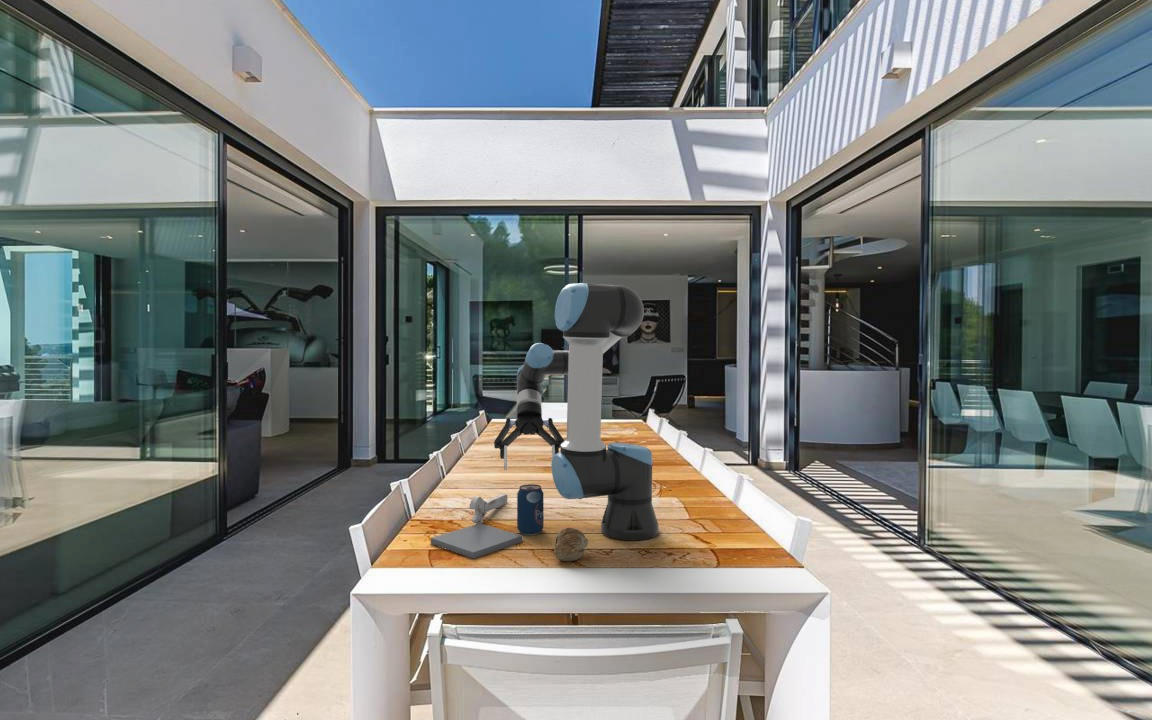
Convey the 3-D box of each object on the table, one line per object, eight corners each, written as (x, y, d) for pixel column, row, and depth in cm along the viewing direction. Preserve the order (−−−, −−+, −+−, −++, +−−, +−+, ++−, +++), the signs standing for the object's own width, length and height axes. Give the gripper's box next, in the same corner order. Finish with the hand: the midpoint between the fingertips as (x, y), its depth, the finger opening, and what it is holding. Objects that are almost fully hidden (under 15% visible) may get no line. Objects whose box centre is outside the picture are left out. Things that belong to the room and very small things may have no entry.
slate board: (522, 541, 154) (522, 535, 154) (473, 558, 142) (473, 552, 142) (479, 528, 165) (479, 523, 165) (430, 543, 152) (430, 537, 152)
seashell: (590, 555, 146) (557, 550, 148) (593, 526, 146) (560, 521, 148) (582, 568, 137) (548, 562, 139) (585, 536, 137) (551, 531, 139)
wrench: (507, 511, 192) (474, 529, 163) (501, 511, 192) (468, 528, 163) (508, 485, 193) (475, 498, 164) (502, 485, 193) (469, 498, 164)
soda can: (542, 536, 159) (542, 490, 158) (515, 535, 159) (515, 489, 159) (544, 527, 166) (544, 483, 165) (518, 527, 166) (518, 483, 166)
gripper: (569, 415, 191) (573, 473, 176) (488, 415, 188) (485, 475, 174) (570, 399, 185) (574, 458, 171) (487, 400, 183) (484, 460, 169)
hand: (529, 467), depth 172 cm, fingers open, 13 cm apart
